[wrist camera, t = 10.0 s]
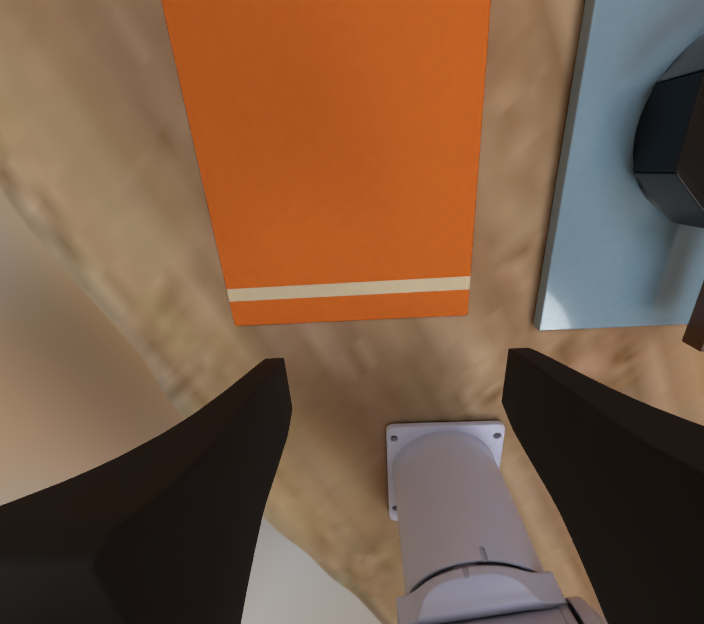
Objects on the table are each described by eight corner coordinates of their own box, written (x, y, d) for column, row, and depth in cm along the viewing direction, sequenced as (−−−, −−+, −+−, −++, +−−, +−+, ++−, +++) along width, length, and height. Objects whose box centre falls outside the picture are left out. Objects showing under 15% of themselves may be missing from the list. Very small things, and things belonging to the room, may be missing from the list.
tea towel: (466, 313, 20) (467, 315, 20) (236, 324, 21) (234, 326, 21) (503, -193, 12) (506, -202, 12) (131, -144, 13) (126, -151, 13)
